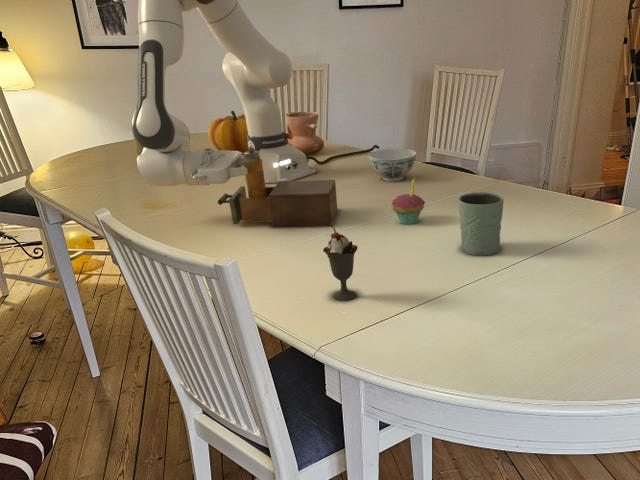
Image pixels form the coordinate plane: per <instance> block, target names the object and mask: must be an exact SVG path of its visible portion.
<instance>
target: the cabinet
mask: <svg viewBox="0 0 640 480" xmlns="http://www.w3.org/2000/svg"><path fill="white" fill-rule="evenodd" d="M273 187H274V189H273V190H272V192H271V193H270V194H269V201H270V209H271V216H272V228H305V227H307V228H308V227H309V228H310V227H311V228H312V227H331V226H330V225H329V223H331V224H332V225H333V223H334V221H335V218H336V215H337V213H338V201H337V200H338V199H337V198H338V197H337V185H336V179H309V180H292V181H279V182H276V185H275V186H273Z"/></svg>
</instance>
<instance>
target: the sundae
mask: <svg viewBox="0 0 640 480" xmlns="http://www.w3.org/2000/svg"><path fill="white" fill-rule="evenodd" d="M329 225H330V226H329V227H331V228H332V229H333V233H331V235H330V237H331V239H330V240H329V241H328V242H327V246H325V247H324V248H323V250H322V251H323V253H325V255H327V258H328V261H329V265H330V270H331V273H332V275H333V277H334V278H335V279H336V280H337V281H338V280H339V282H340V290H337V291H335V292H334V293H333V294H332V296H331V297H332V299H334V300H335V301H339V302H346V301H351V300H354V299H356V297H357V292H356V291H354V290H351V289H348V286H347V280H349V279H350V277H351V276H353V272H354V261H355V254H356V253H357V251H358V245H356V244H353V241H352V240H350V241H349V239H348V238H347V237H346V236H345V235H343V234H340V233H339V232H337V231H336V229H335V227H334V226H333V223H332V224H331V223H329Z"/></svg>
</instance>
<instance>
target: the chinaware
mask: <svg viewBox="0 0 640 480" xmlns="http://www.w3.org/2000/svg"><path fill="white" fill-rule="evenodd" d="M368 158H369V162H370V164H371V167H372V169H373V170H374V171H375V172H376V173H377V174H378V175H379V176H380V177H382V180H383V181H385V182H399V181H403V180H404V179H405V176H406V175H407V174H408V173H409V172H410V171H411V170H412V168H413V167H414V165H415V162H416V159H417V151H415V150H413V149H408V148H386V149H377V150H375V151H371V152H369V154H368Z"/></svg>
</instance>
